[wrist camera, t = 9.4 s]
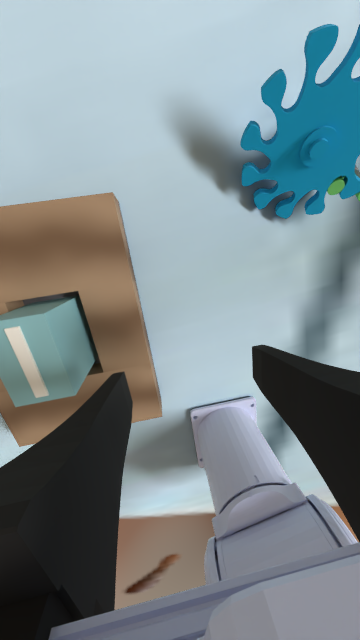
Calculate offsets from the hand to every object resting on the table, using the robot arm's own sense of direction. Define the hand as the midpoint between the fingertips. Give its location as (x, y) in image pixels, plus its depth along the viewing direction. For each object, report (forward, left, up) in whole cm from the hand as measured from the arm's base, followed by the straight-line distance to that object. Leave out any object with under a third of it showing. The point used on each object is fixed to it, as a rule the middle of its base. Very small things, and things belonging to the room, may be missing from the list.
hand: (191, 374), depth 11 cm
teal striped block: (+1, +10, -9) cm, 13 cm away
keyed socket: (+1, +10, -9) cm, 14 cm away
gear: (+12, -12, -10) cm, 19 cm away
